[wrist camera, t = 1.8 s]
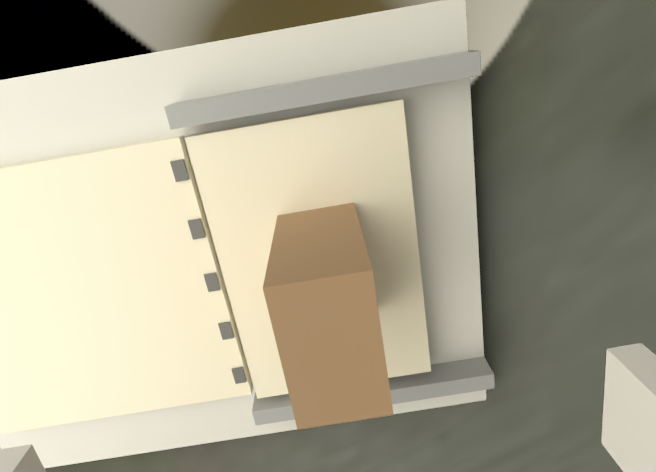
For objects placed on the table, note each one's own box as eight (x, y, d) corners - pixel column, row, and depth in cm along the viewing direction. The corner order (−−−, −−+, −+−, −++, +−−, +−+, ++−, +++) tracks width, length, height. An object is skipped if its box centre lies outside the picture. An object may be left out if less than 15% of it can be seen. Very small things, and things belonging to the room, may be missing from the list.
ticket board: (457, -1, 17) (477, -8, 15) (479, 386, 24) (496, 419, 22) (-161, 110, 18) (-224, 119, 16) (25, 457, 25) (-1, 495, 23)
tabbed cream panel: (400, 98, 17) (448, 124, 11) (428, 363, 22) (473, 485, 16) (188, 134, 18) (123, 180, 12) (258, 389, 22) (238, 520, 16)
